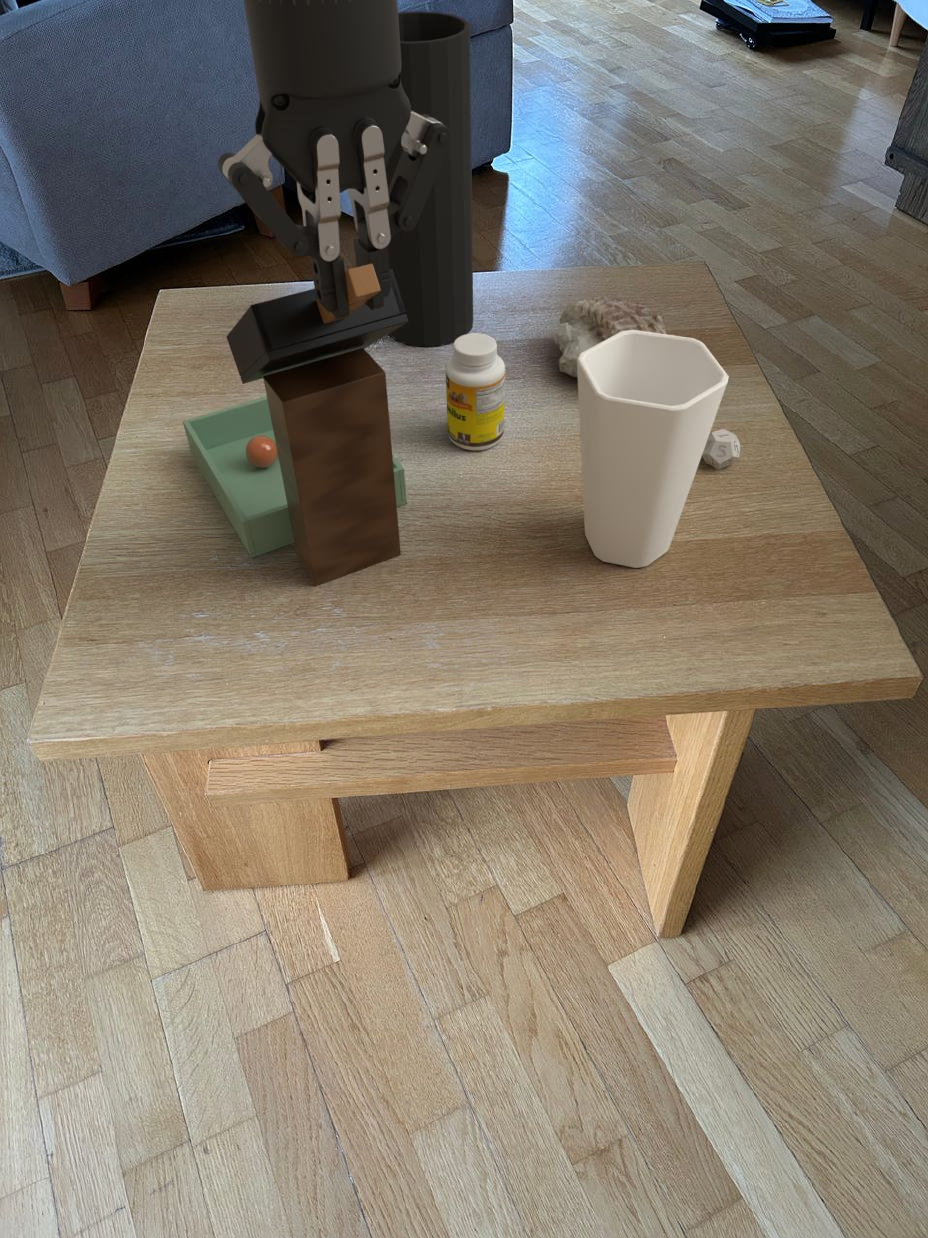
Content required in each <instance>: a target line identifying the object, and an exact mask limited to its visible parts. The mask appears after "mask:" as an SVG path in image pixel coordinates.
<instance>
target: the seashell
mask: <svg viewBox="0 0 928 1238" xmlns="http://www.w3.org/2000/svg"><path fill="white" fill-rule="evenodd" d="M627 330H639V331H646V332H653V333H660V334H667V330H666V326H665V323H664V314H663V313H662V312H661V313H659V314H656V313H654V311H652V309H651V308H650V307H649V306H643V305H642V304H641V303H640V302H638V301H636V302H633V301H631V300H630V299H628V298H626V300H625V301H623V299H621V297H619V296H617V295H615V299H613V300H611V299H609V298H607V297H606V296H602V297H600V298H598V297H597V296H594V297H592V298H590V299H589V300H587V299H585V298H584V299H582V300H578V301H575V302H573V303H571V304H569V305H567V306H566V308H565V309H564V310H563V311H562V313H561V315H560V318H559V324H558V329H557V332H555V333H553V339H554V344H555V346H557V347H558V348H559V351H561V352H562V355H561V356H560V357H559V359H558V366H559V371H560V372H562V373H566V374H567V375H568V376H571V377H572V378H578V374H577V359H578V357H579V354H580V353H582V352H584V351H586V350H588V349H590V348H592V347H593V346H595V345H597V344H599V343H601V342H603V341H605V340H607V339H608V338H610V337H612V336H614V335H616V334H618V333H620V332H622V331H627Z"/></svg>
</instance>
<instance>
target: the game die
mask: <svg viewBox="0 0 928 1238" xmlns="http://www.w3.org/2000/svg"><path fill="white" fill-rule="evenodd" d="M740 453H741V442H740V440H739V439H738V437H737V435H736V434H735V433H733V432H731V431H729V430H728V429H725V428H721V429H718V430H714V431H710V434H709V437H708V439H707V442H706V445H705V448H704V451H703V454H702V456H701V458H702V459H703V460H704V462H705V464H707V465H709V466H711V467H713V468H714V469H716V470H720V469H722V468H726V467H729V466H731V465H732V464H733V463H734V462H736V461H737V460H738V459H739V458H740Z"/></svg>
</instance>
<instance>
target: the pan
mask: <svg viewBox="0 0 928 1238" xmlns="http://www.w3.org/2000/svg"><path fill="white" fill-rule="evenodd" d="M389 273H390V285H391V288H390V292H389V296H387V297H383V299H384V306H383V307H382V308H378V309H375V310H371V309H370V308H369V307H368V306H367V305H366V304H365V302H367V301H368V300H369V299H370V298H372V297H373V296H374V295H376V294H377V293H378V292H379V291H381V289H380V286H379V283H378V280H377V276H376V273H375V270H374V267H373V264H368V265H364V266H360V267H351V268H349V269H347V270H345V277H346V285H347V294H348V303H349V311H350V315H349V316H348V317H344V318H341V319H337V318H336V317H335V316H334V315H333V314H332V313H331V312H328V311H327V310H326V309H325V308H324V307H323V305H322V304H321V303H320V302H319V300H318V299H317V297H316V295H315V288H311V289H308V290H304V291H303V290H302V291H300V292H296V293H291V294H288V295H285V296H281V297H276V298H273V299H269V300H265V301H261V302H258V303H253V304H250V306H249V307H248V308H247V310H246V311H245V312H244V313H243V315H242V316H241V317H240V318H239V319H238V321H237V322H236V324H235V325H234V326H233V327H232V329H231V330H230V331H229V332H228V334H227V335H226V337H225V338H226V341H227V344H228V346H229V349H230V352H231V355H232V357H233V360H234V363H235V366H236V369H237V371H238V375H239V378H240V381H241V383H242V384H243V385H244V384H248V383H251V382H255V381H259V380H262V379H263V376H266V375H269V374H273V373H276V372H280V371H283V370H287V369H290V368H294V367H297V366H301V365H304V364H308V363H311V362H315V361H318V360H322V359H325V358H329V357H332V356H336V355H339V354H343V353H346V352H350V351H353V350H357V349H360V348H364V349H365V350H366V349H367V348H369V347H370V346H372V345H373V344H375V343H377V342H378V341H380V340H381V339H383V338H385V337H386V336H388V335H389V333H391V332H393V331H394V330H396V329H398V328H399V327H401V326H402V325H404V324H406V323H407V322H408V318H407V315H406V312H405V308H404V305H403V302H402V299H401V295H400V292H399V289H398V286H397V283H396V279H395V276H394V273H393V270H392V269H389Z"/></svg>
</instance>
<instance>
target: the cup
mask: <svg viewBox="0 0 928 1238" xmlns="http://www.w3.org/2000/svg"><path fill="white" fill-rule="evenodd" d="M577 374H578V377H577V393H578V395H577V396H578V416H579V434H580V435H579V437H580V456H581V457H580V459H581V475H582V477H581V478H582V500H583V501H582V502H583V521H584V536H585V538H586V540H587V542H588V544H589V546H590V549H591V551H592V553H593V555H594V557H596V558H597V559H599V560H600V561H602V562H604V563H610V564H613V565H620V566H623V567H629V568H634V569H638V568H645V567H648V566H649V565H651V564H653V562H655V561H656V560H658V559H659V558H661V557H662V556H663V555H665V554H666V553H667V552H669V550H670V548H671V544H672V541H673V538H674V536H675V533H676V530H677V527H678V524H679V522H680V518H681V516H682V513H683V510H684V507H685V504H686V502H687V499H688V496H689V493H690V490H691V488H692V484H693V482H694V479H695V476H696V473H697V471H698V468H699V465H700V463H701V459H702V454H703V451H704V448H705V445H706V442H707V439H708V437H709V434H710V433H711V432H712V428H713V426H714V422H715V419H716V416H717V414H718V411H719V408H720V405H721V402H722V399H723V396H724V394H725V391H726V388H727V385H728V382H729V378H730V376H729V374H728V373H727V372H726V371H725V369H724V368H723V366H721V364H720V363H719V362H718V360H717V359H716V358H715V356H714V355H713V354H712V352H711V351H710V350H709V348H708V347H707V346H706V345H705V343H704V342H702V341H700V340H698V339H697V338H693V337H687V336H680V335H674V334H673V335H672V334H667V333H666V334H660V333H653V332H646V331H639V330H627V331H622V332H620V333H618V334H616V335H614V336H612V337H610V338H608V339H607V340H605V341H603V342H601V343H599V344H597V345H595V346H593V347H592V348H590V349H588V350H586V351H584V352H582V353H580V354H579V357H578V359H577Z"/></svg>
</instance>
